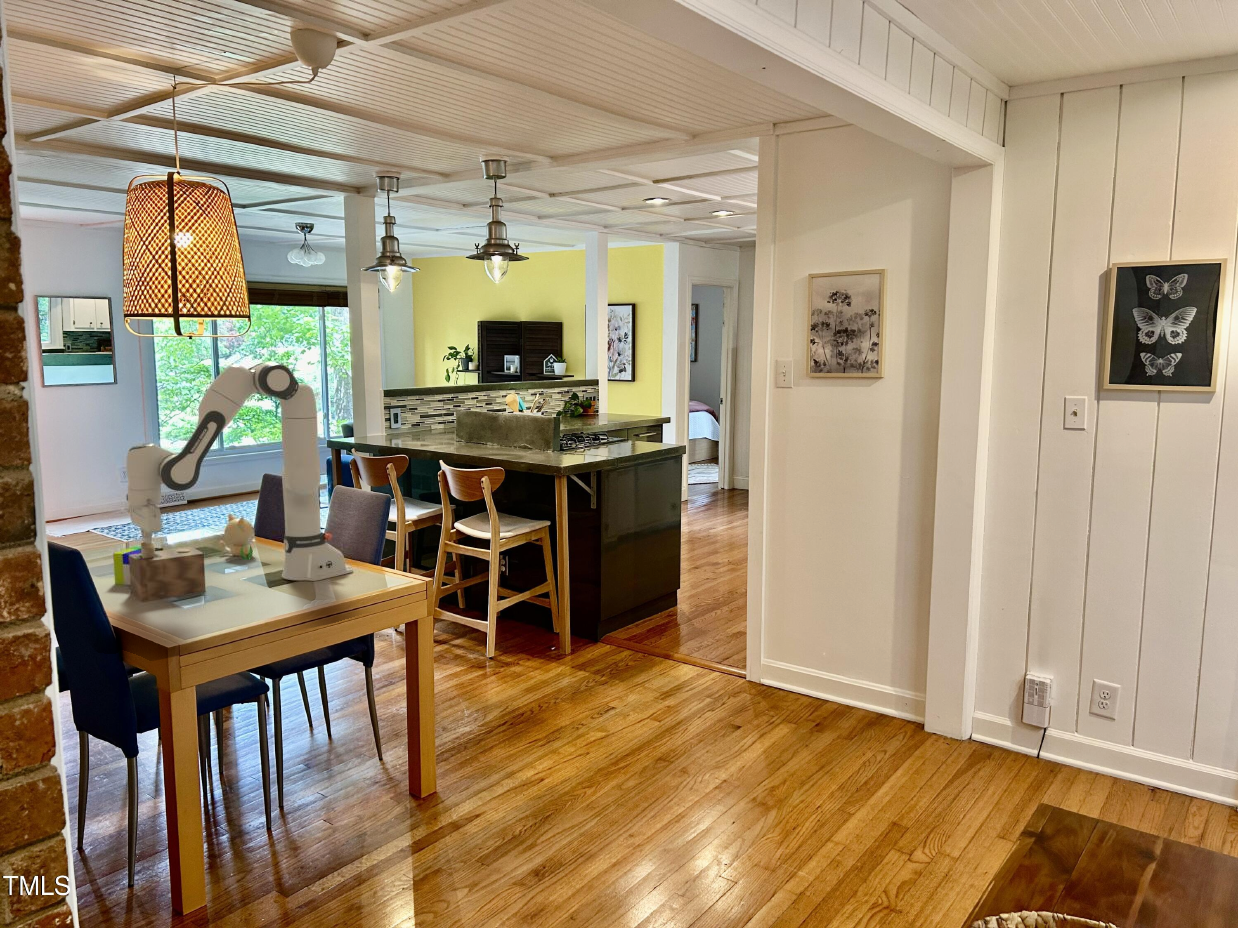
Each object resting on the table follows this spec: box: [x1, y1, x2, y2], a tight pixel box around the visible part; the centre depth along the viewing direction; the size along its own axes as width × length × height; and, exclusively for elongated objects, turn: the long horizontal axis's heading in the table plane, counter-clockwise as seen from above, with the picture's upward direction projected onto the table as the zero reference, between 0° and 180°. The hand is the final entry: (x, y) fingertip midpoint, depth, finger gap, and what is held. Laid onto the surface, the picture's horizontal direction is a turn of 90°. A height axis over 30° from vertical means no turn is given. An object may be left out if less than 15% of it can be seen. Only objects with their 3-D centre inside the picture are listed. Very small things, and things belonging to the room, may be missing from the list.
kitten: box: [218, 513, 256, 560], centre depth 318 cm, size 15×10×15 cm, turn 49°
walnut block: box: [129, 546, 207, 603], centre depth 270 cm, size 18×12×12 cm, turn 132°
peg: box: [140, 541, 156, 559], centre depth 266 cm, size 4×4×12 cm
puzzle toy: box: [112, 546, 164, 586], centre depth 283 cm, size 10×10×10 cm
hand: (147, 542), depth 265 cm, fingers closed, pressing on peg
